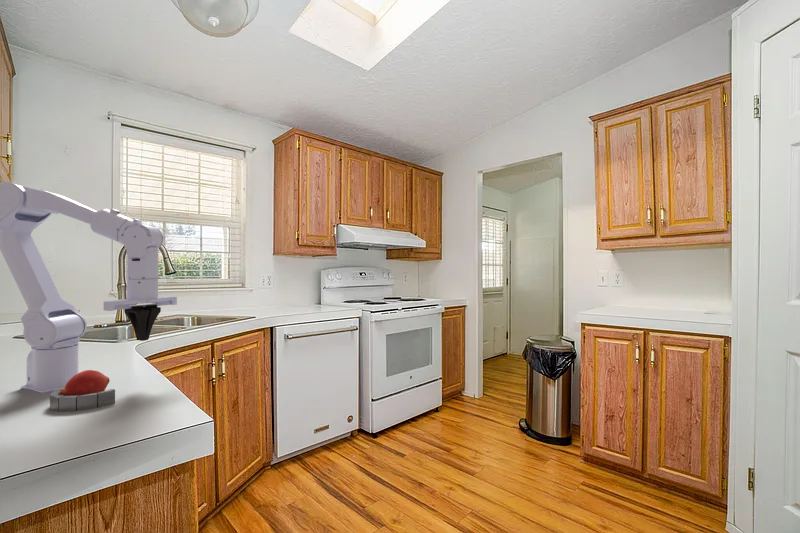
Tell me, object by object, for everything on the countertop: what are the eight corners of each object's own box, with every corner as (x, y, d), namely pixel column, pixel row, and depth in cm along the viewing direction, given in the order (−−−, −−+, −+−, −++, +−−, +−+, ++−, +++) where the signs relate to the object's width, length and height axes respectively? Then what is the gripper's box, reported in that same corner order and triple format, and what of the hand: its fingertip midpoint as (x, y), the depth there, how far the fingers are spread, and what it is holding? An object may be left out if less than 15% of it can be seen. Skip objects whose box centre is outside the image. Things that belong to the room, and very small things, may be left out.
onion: (117, 396, 75) (67, 411, 68) (102, 392, 77) (52, 406, 70) (116, 367, 74) (65, 379, 67) (100, 364, 77) (50, 375, 70)
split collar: (38, 406, 70) (38, 391, 70) (82, 394, 76) (82, 381, 76) (70, 416, 65) (70, 401, 65) (115, 403, 71) (115, 389, 71)
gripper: (117, 280, 76) (117, 348, 76) (185, 278, 89) (185, 336, 89) (97, 279, 79) (97, 344, 79) (166, 277, 92) (165, 333, 92)
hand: (142, 340), depth 84 cm, fingers closed
